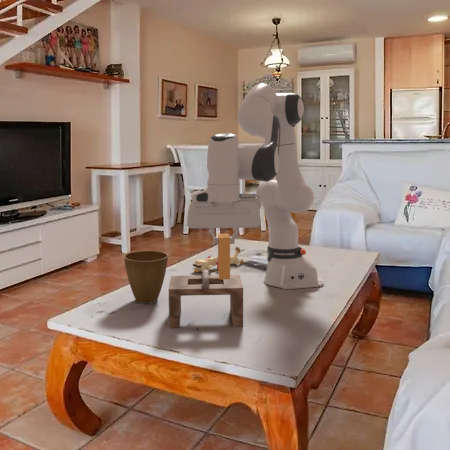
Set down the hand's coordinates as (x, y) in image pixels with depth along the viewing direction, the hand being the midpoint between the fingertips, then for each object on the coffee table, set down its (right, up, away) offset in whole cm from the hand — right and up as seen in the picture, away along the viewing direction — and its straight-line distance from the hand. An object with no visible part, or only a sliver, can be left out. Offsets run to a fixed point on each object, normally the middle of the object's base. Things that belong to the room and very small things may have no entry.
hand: (223, 243), depth 143 cm
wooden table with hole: (-6, -24, +17) cm, 30 cm away
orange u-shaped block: (0, -9, +2) cm, 9 cm away
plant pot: (-27, -21, +35) cm, 49 cm away
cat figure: (-3, -14, +76) cm, 77 cm away
